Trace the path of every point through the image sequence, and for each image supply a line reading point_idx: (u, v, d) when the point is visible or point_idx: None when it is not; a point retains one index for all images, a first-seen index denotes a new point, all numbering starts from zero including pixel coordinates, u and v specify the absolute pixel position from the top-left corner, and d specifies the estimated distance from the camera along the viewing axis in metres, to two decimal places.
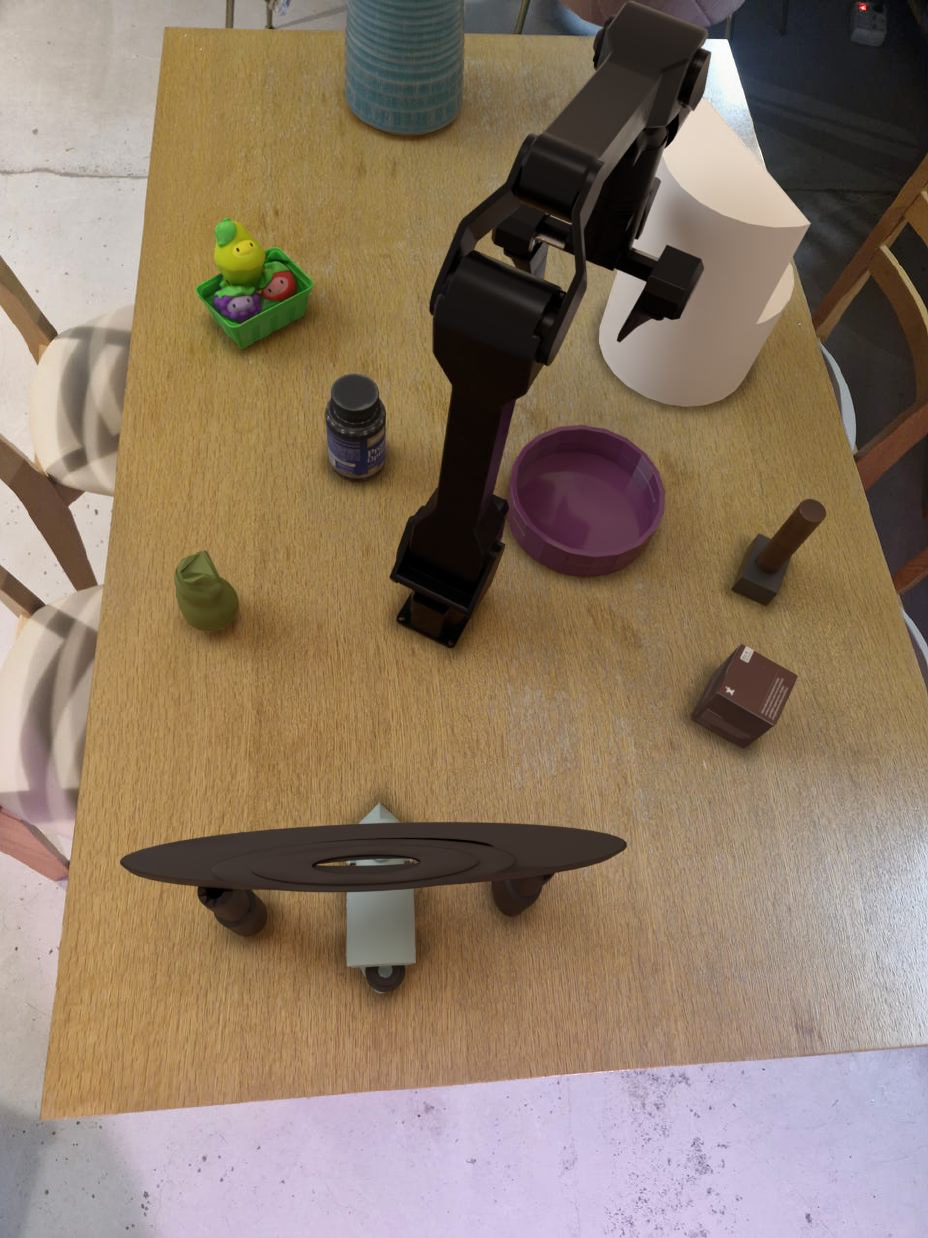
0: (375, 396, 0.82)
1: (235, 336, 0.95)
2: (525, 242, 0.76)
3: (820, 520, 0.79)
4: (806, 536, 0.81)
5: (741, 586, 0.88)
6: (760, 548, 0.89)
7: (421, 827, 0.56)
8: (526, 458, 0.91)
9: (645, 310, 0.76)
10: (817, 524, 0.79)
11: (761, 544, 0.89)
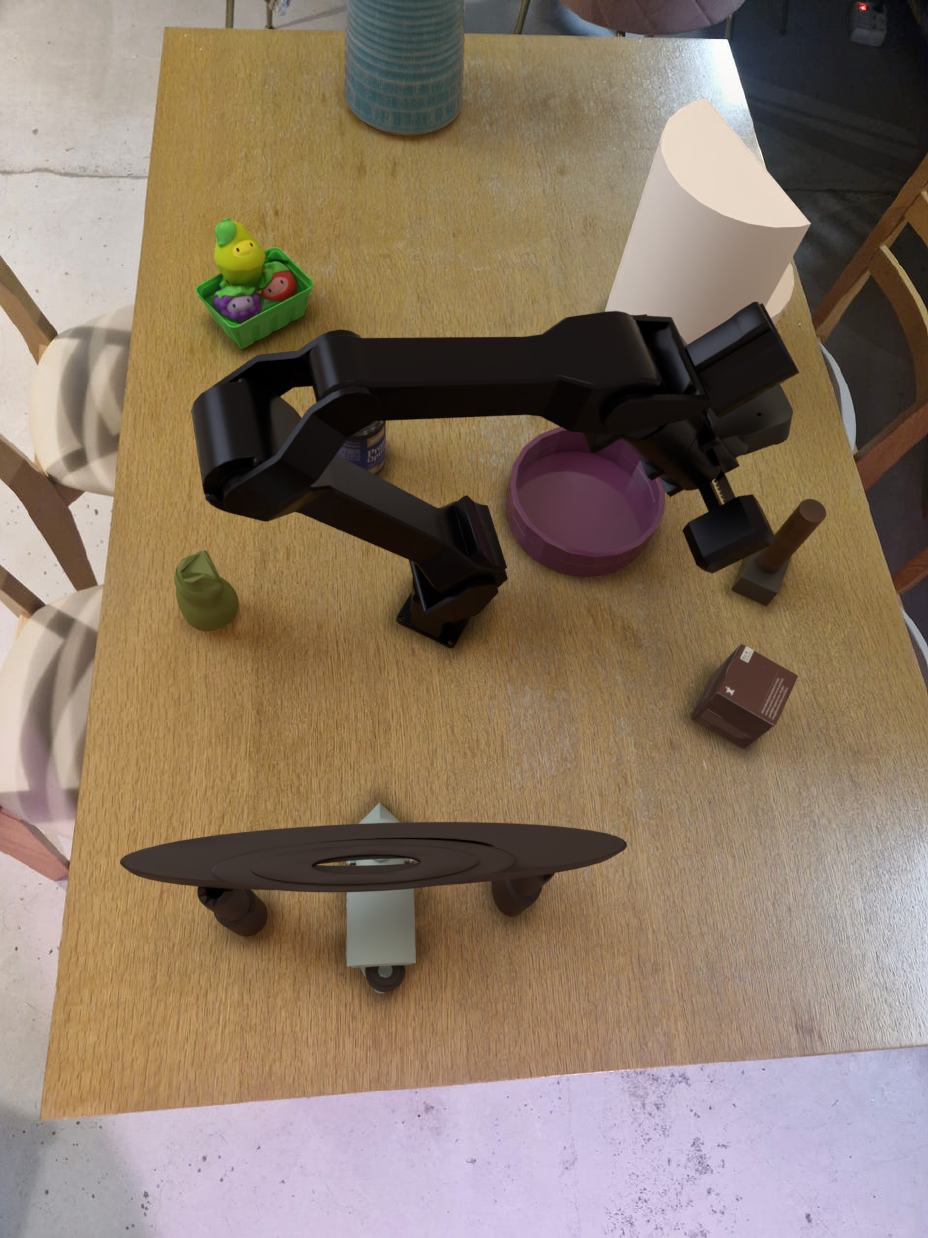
0: None
1: (235, 336, 0.95)
2: None
3: (820, 520, 0.79)
4: (806, 536, 0.81)
5: (741, 586, 0.88)
6: None
7: (421, 827, 0.56)
8: (526, 458, 0.91)
9: None
10: (817, 524, 0.79)
11: None
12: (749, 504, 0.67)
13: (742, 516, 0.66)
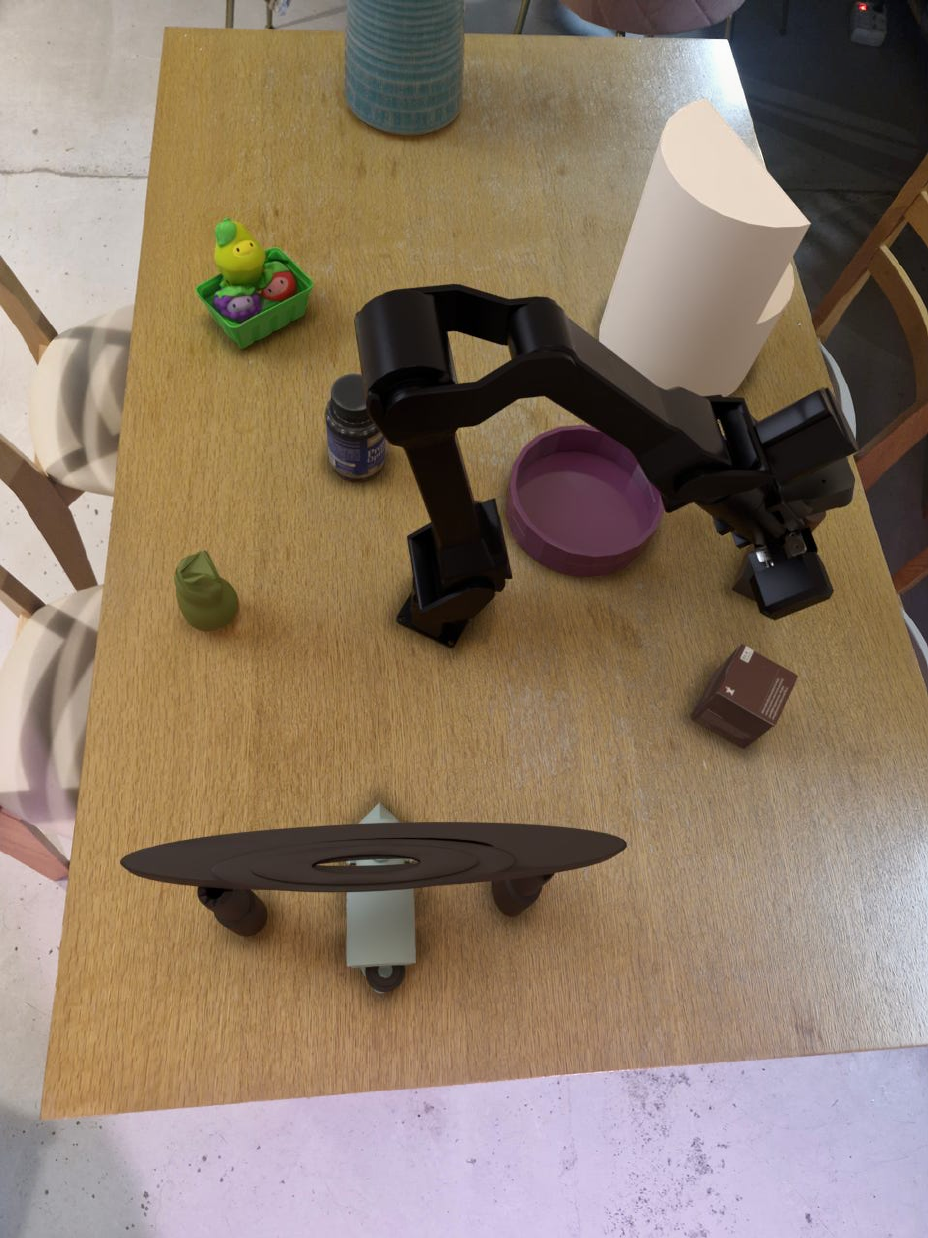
0: None
1: (235, 336, 0.95)
2: None
3: (820, 520, 0.79)
4: None
5: (741, 586, 0.88)
6: None
7: (421, 827, 0.56)
8: (526, 458, 0.91)
9: (752, 563, 0.80)
10: (817, 524, 0.79)
11: None
12: (811, 561, 0.74)
13: (803, 572, 0.73)
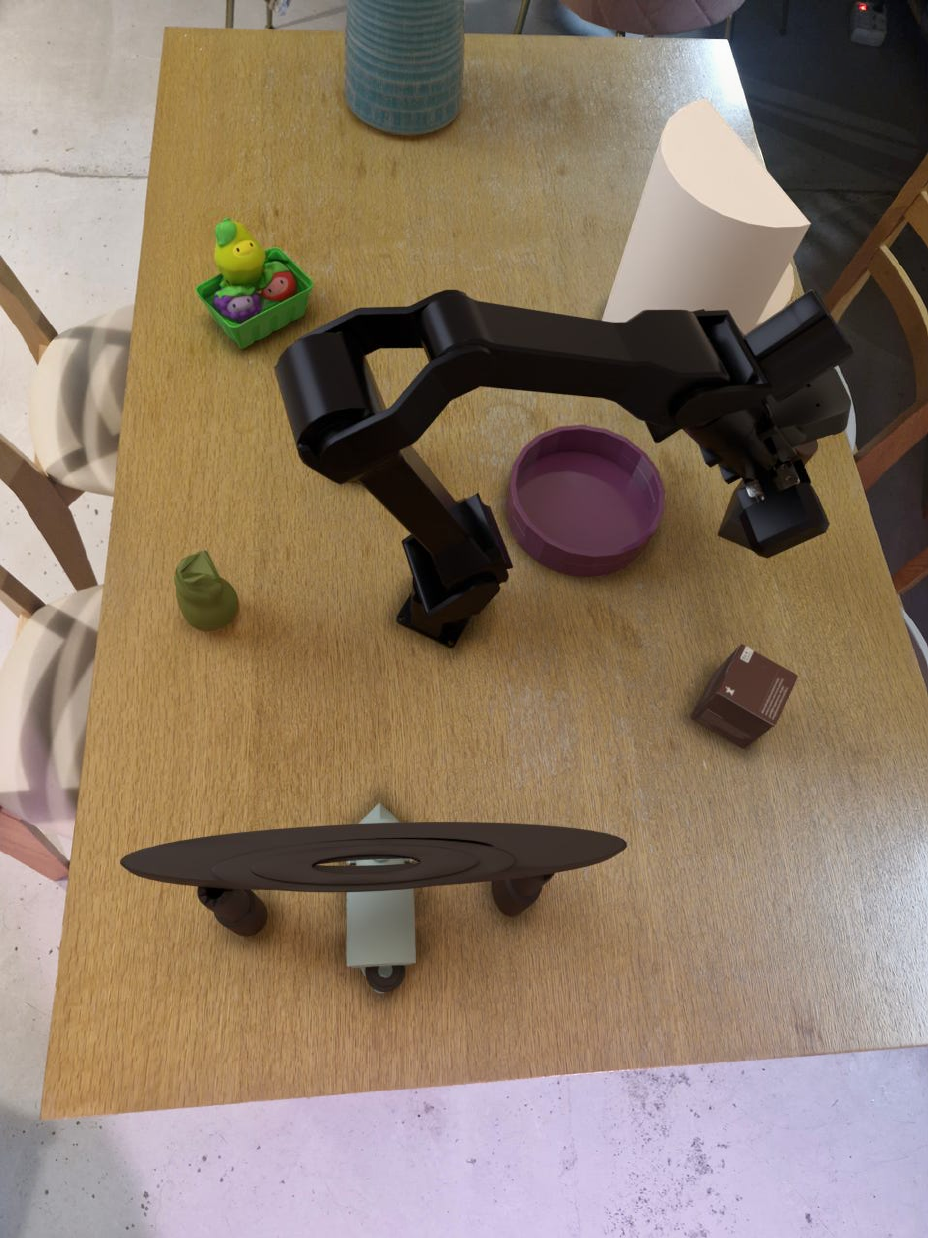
0: None
1: (235, 336, 0.95)
2: None
3: (812, 452, 0.74)
4: None
5: (728, 530, 0.83)
6: None
7: (421, 827, 0.56)
8: (526, 458, 0.91)
9: (741, 500, 0.75)
10: (809, 457, 0.74)
11: None
12: (805, 492, 0.69)
13: (798, 503, 0.69)
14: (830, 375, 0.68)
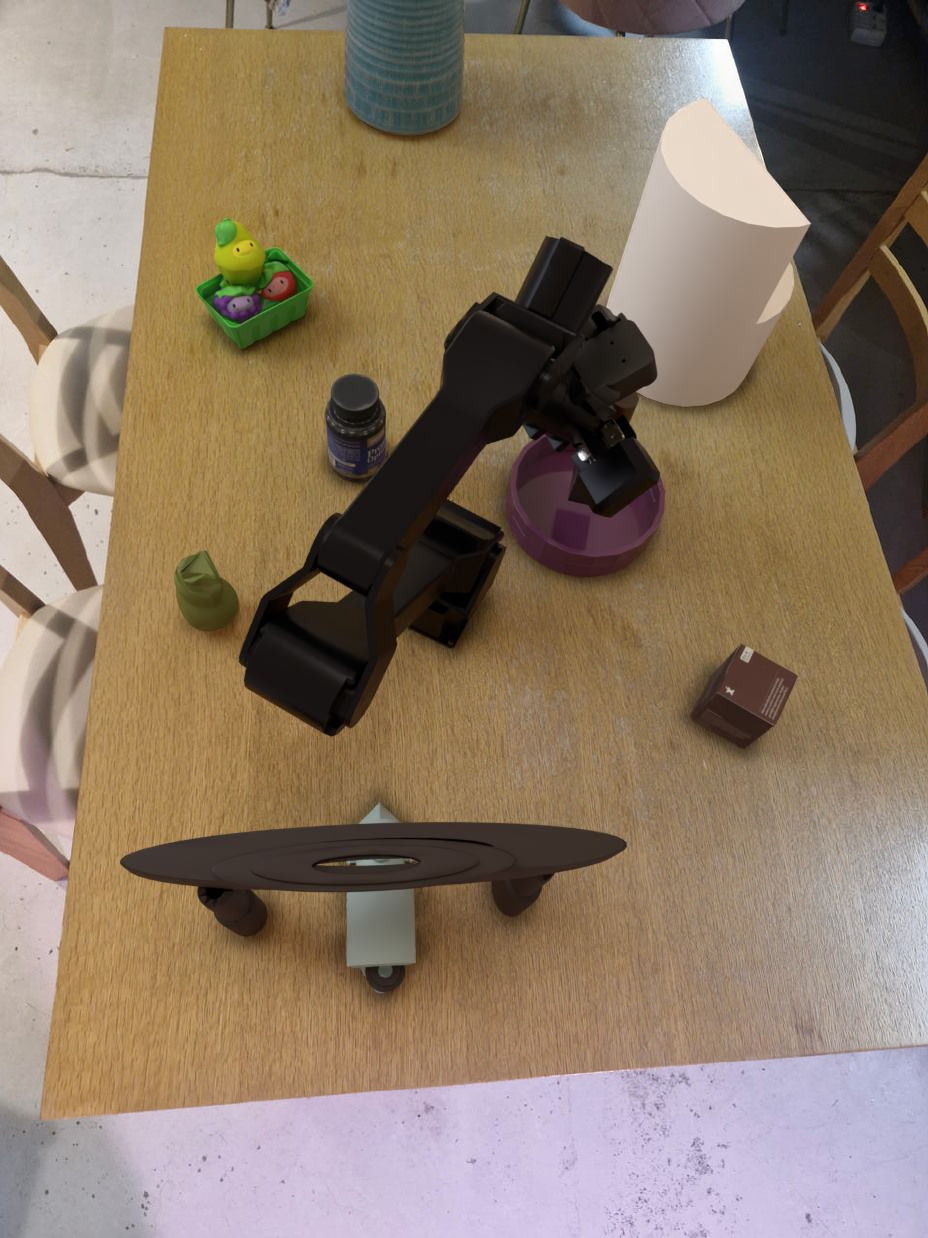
0: (375, 396, 0.82)
1: (235, 336, 0.95)
2: None
3: (634, 405, 0.75)
4: None
5: (576, 494, 0.84)
6: None
7: (421, 827, 0.56)
8: (526, 458, 0.91)
9: (577, 465, 0.76)
10: (632, 410, 0.75)
11: None
12: (630, 447, 0.70)
13: (625, 460, 0.70)
14: (630, 329, 0.69)
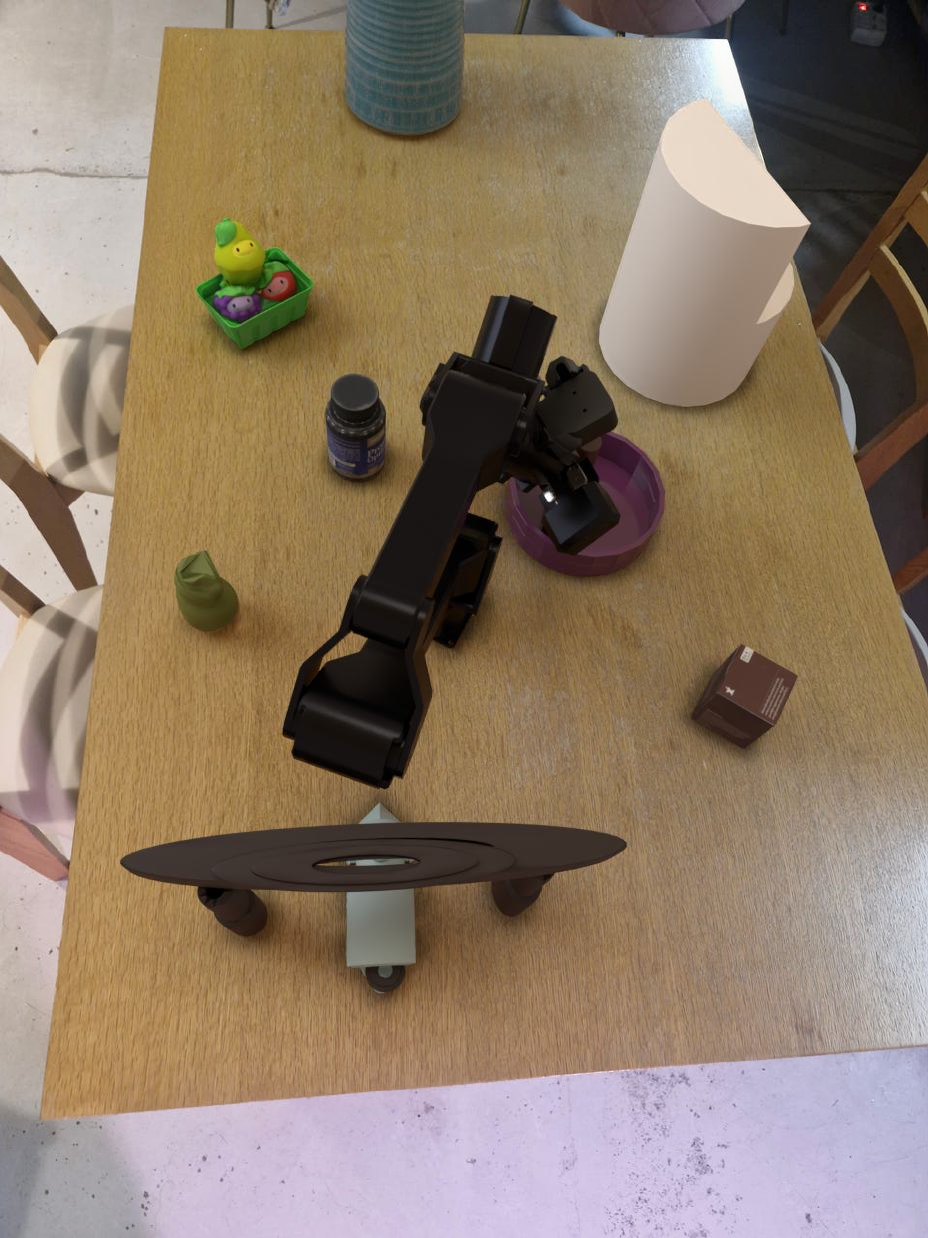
0: (375, 396, 0.82)
1: (235, 336, 0.95)
2: None
3: (597, 448, 0.79)
4: None
5: None
6: None
7: (421, 827, 0.56)
8: None
9: (544, 504, 0.80)
10: (596, 452, 0.79)
11: None
12: (592, 491, 0.74)
13: (587, 503, 0.74)
14: (591, 380, 0.73)
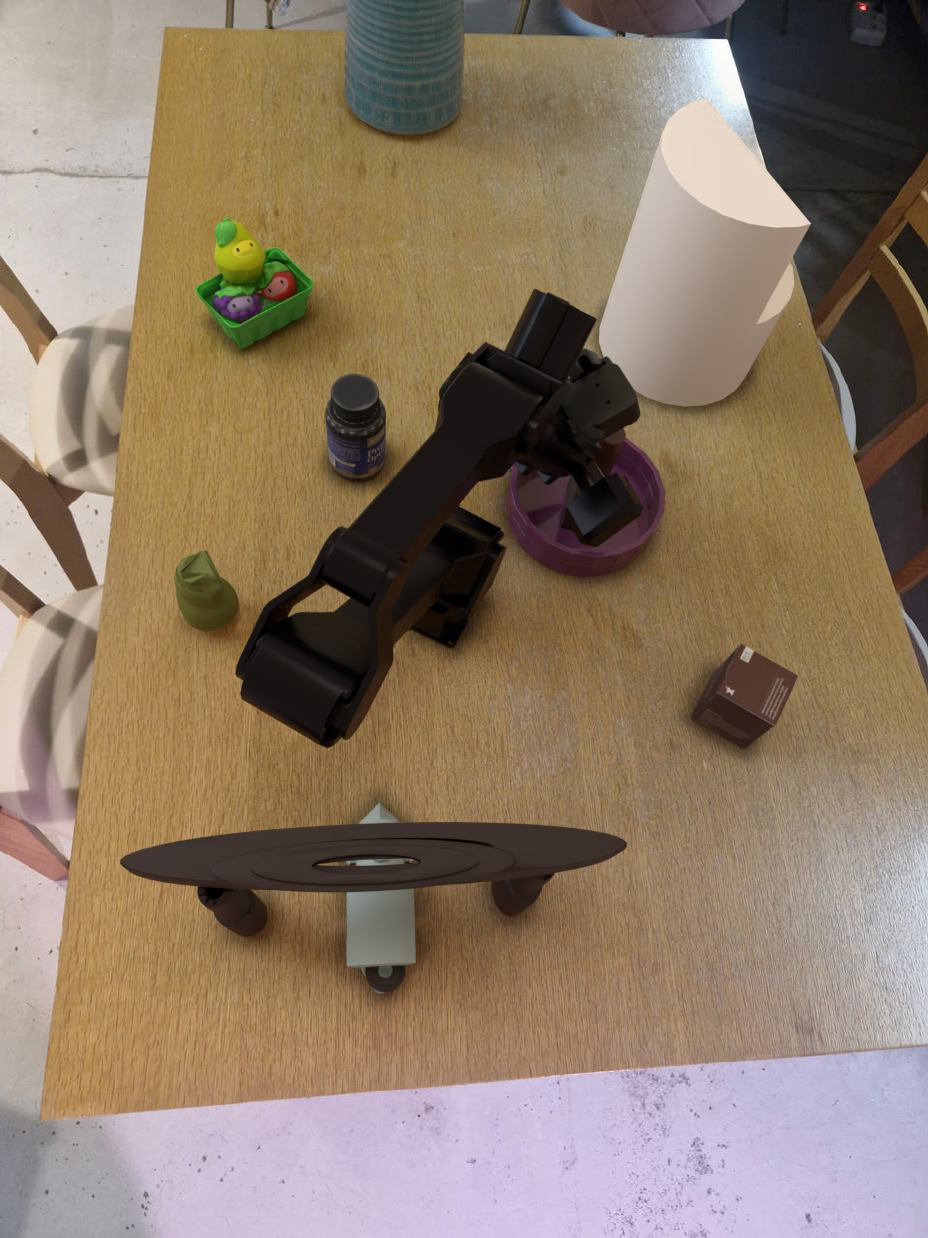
0: (375, 396, 0.82)
1: (235, 336, 0.95)
2: None
3: (621, 441, 0.80)
4: (613, 459, 0.82)
5: None
6: None
7: (421, 827, 0.56)
8: None
9: None
10: (619, 445, 0.80)
11: None
12: (615, 482, 0.75)
13: (610, 494, 0.74)
14: (614, 372, 0.73)
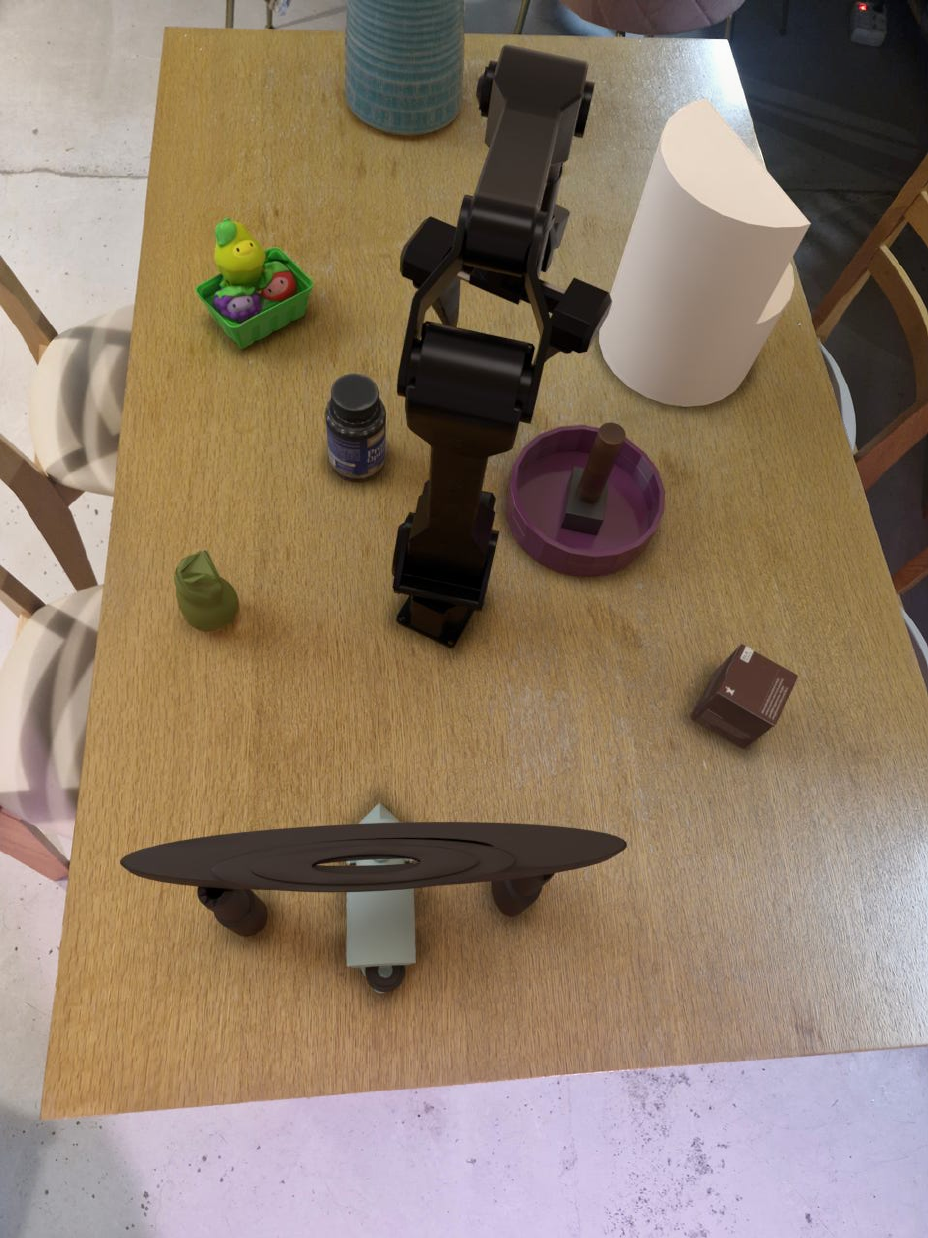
0: (375, 396, 0.82)
1: (235, 336, 0.95)
2: None
3: (621, 441, 0.80)
4: (613, 459, 0.82)
5: (568, 521, 0.89)
6: (578, 480, 0.89)
7: (421, 827, 0.56)
8: (526, 458, 0.91)
9: (553, 343, 0.75)
10: (619, 445, 0.80)
11: (578, 476, 0.90)
12: None
13: (590, 287, 0.75)
14: None
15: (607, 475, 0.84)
